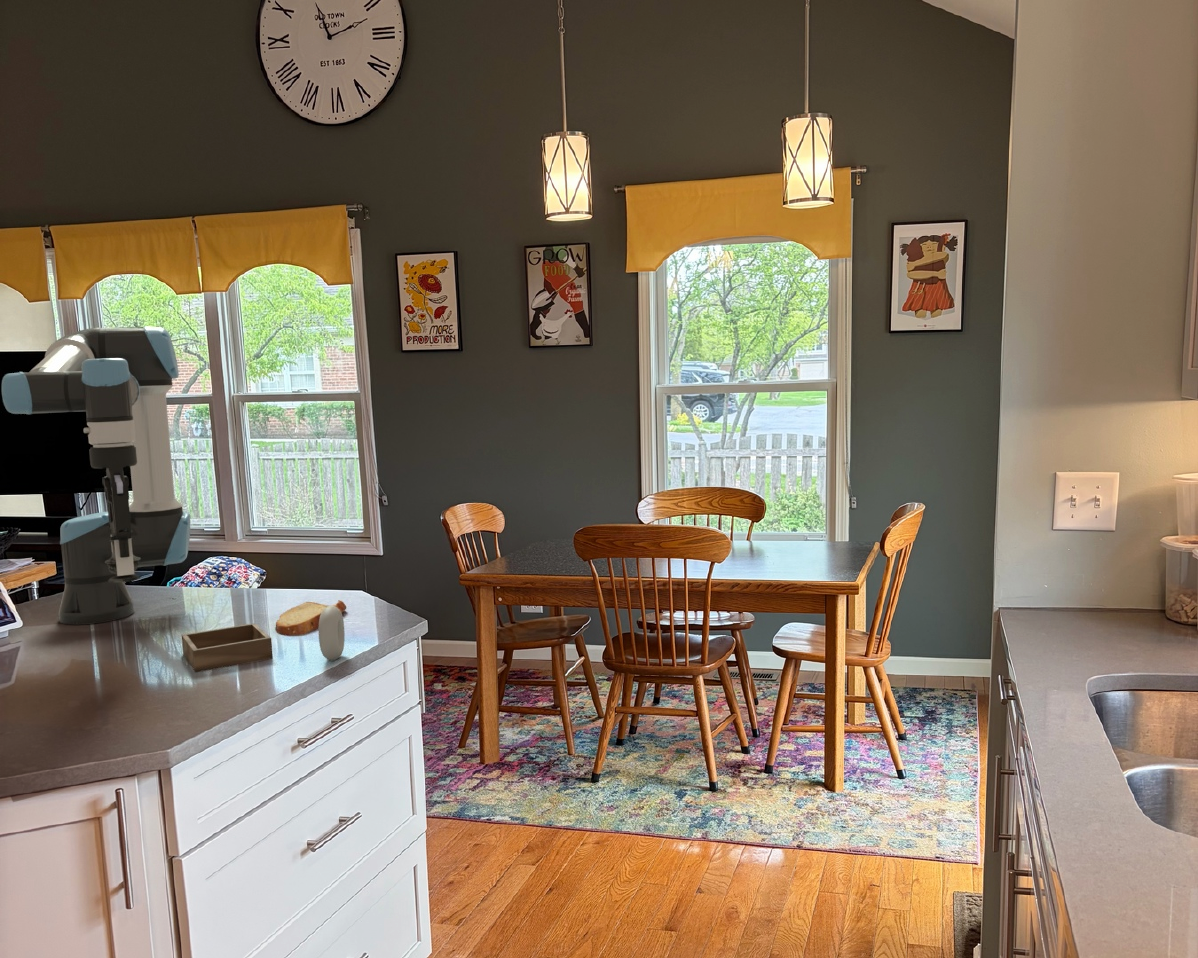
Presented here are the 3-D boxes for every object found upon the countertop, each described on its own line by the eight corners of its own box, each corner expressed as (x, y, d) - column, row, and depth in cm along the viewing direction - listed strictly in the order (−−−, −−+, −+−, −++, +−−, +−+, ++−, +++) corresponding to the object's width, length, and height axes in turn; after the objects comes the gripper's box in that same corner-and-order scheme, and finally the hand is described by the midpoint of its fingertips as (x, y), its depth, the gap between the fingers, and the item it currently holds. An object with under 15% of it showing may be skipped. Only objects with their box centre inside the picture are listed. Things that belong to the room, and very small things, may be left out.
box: (183, 655, 186) (181, 634, 185) (256, 642, 193) (255, 623, 192) (195, 672, 174) (193, 650, 174) (272, 658, 181) (271, 637, 181)
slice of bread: (286, 639, 196) (284, 621, 196) (257, 622, 210) (256, 605, 210) (369, 623, 207) (368, 605, 206) (336, 608, 221) (335, 592, 221)
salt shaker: (127, 582, 173) (121, 516, 172) (99, 582, 174) (92, 516, 173) (149, 575, 179) (143, 511, 177) (121, 575, 180) (115, 511, 178)
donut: (329, 652, 184) (325, 600, 183) (347, 651, 184) (344, 599, 183) (318, 667, 174) (314, 613, 173) (338, 666, 175) (334, 612, 173)
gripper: (84, 443, 180) (96, 566, 182) (93, 449, 164) (105, 583, 166) (129, 441, 184) (140, 560, 186) (141, 446, 168) (153, 577, 170)
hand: (123, 571), depth 176 cm, fingers closed on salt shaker, 6 cm apart
